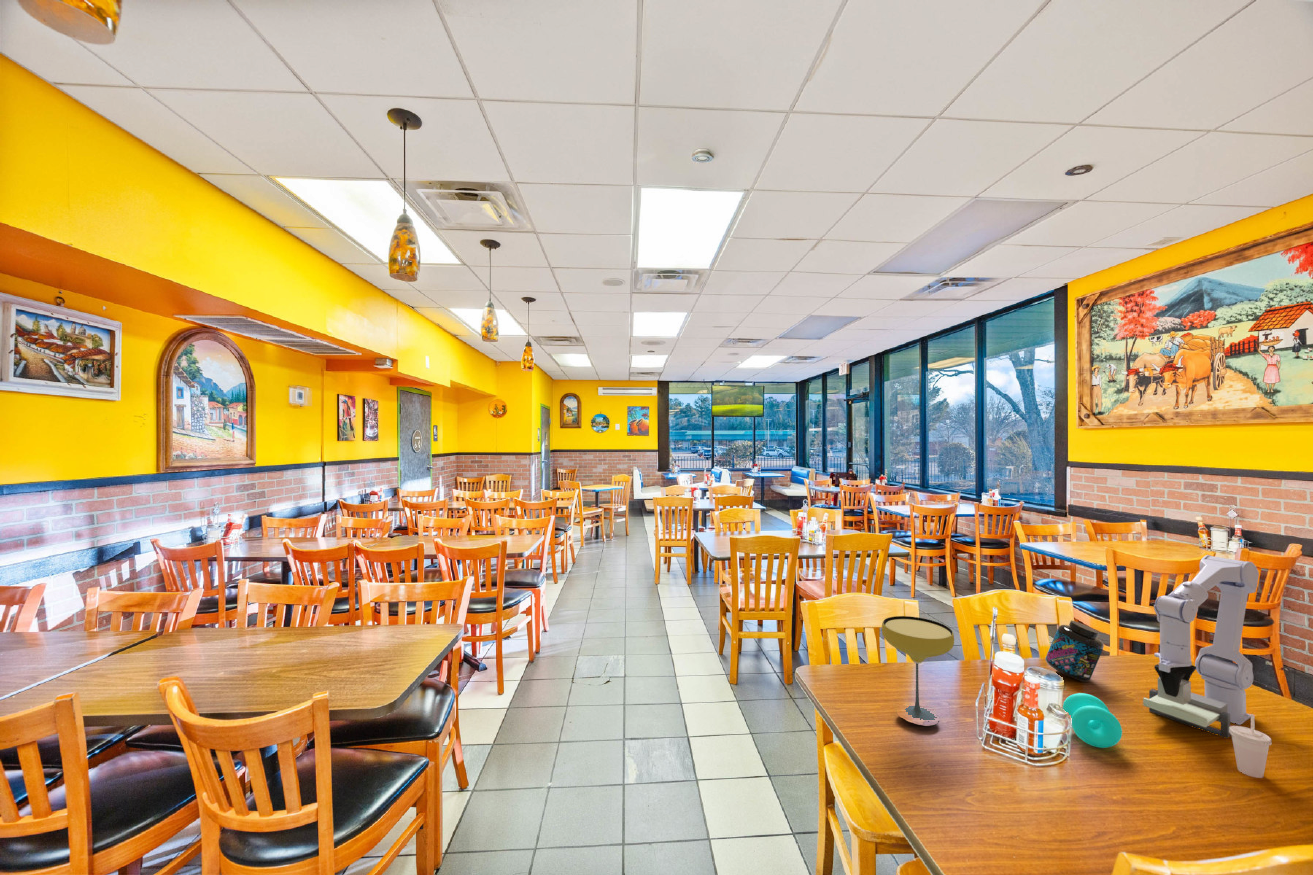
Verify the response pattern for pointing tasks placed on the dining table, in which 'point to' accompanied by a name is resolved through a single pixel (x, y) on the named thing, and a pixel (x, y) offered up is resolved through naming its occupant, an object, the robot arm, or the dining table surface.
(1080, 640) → the container
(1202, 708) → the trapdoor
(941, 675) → the dining table surface
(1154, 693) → the frame
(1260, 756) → the smoothie
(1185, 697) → the grey cube
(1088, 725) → the teal yo-yo
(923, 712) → the cocktail glass
